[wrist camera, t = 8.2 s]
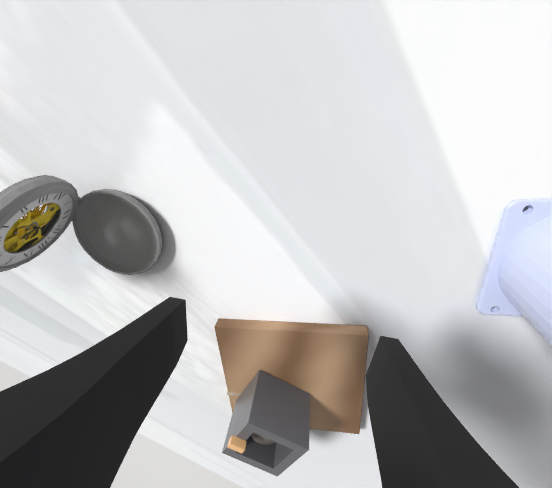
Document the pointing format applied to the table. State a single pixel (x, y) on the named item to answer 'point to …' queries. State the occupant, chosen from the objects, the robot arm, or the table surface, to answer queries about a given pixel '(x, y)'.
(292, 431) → the grey hollow cube
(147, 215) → the pocket watch
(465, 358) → the table surface
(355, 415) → the board
